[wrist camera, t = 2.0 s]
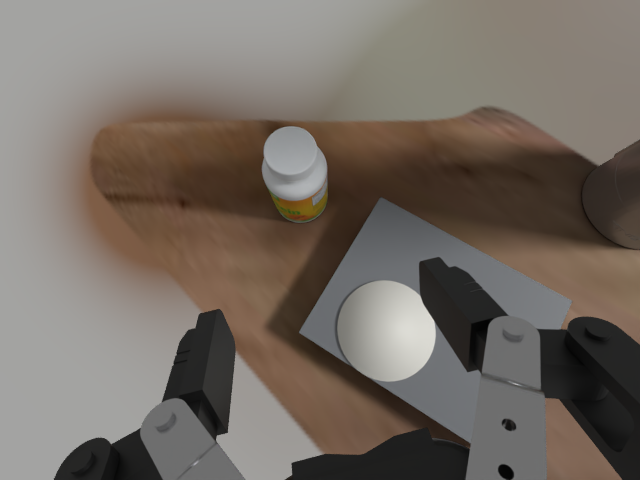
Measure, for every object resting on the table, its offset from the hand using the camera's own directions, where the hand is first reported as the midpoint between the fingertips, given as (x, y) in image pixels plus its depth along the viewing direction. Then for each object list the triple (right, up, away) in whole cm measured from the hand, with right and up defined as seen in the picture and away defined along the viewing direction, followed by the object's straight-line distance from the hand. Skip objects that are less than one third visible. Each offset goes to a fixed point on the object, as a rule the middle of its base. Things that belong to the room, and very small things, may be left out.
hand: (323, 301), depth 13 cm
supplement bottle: (-2, +7, +20) cm, 22 cm away
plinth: (+9, -5, +17) cm, 20 cm away
